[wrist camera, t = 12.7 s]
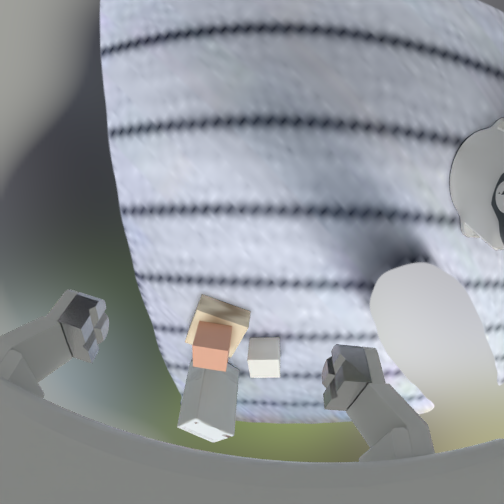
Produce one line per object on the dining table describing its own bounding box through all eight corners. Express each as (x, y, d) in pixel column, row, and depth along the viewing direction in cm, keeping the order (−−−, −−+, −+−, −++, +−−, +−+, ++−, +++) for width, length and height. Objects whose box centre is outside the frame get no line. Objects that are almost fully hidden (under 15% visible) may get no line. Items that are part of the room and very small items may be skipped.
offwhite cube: (279, 336, 51) (278, 359, 47) (280, 355, 53) (280, 377, 49) (249, 337, 51) (247, 359, 47) (252, 355, 54) (250, 377, 50)
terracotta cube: (232, 325, 45) (228, 351, 41) (229, 347, 48) (225, 371, 43) (199, 320, 45) (192, 345, 41) (199, 342, 48) (192, 366, 43)
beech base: (250, 309, 48) (248, 327, 45) (233, 340, 53) (230, 357, 49) (202, 292, 47) (197, 309, 44) (190, 325, 51) (184, 342, 48)
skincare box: (190, 360, 56) (172, 426, 44) (209, 348, 54) (193, 418, 41) (222, 380, 59) (211, 444, 46) (242, 370, 56) (234, 438, 44)
